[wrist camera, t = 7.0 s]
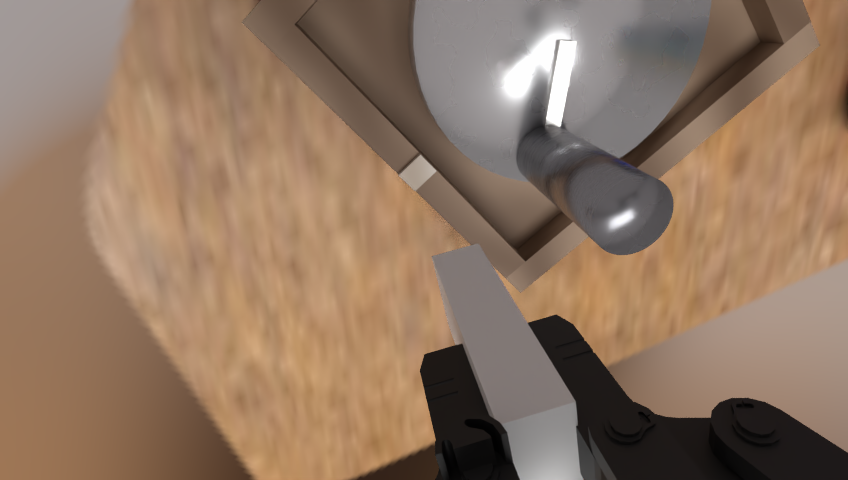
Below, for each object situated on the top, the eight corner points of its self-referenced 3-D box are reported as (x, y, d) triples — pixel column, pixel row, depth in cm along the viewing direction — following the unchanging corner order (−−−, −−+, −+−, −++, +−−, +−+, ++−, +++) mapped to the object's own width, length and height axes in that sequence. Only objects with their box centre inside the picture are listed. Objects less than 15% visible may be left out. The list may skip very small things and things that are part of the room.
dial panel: (584, -359, 18) (638, -440, 15) (764, 41, 27) (824, 45, 23) (255, 20, 22) (240, 22, 19) (502, 264, 31) (521, 294, 27)
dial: (416, -170, 18) (485, -334, 10) (723, -126, 21) (1005, -226, 12) (401, 168, 25) (434, 258, 16) (639, 172, 27) (785, 251, 18)
